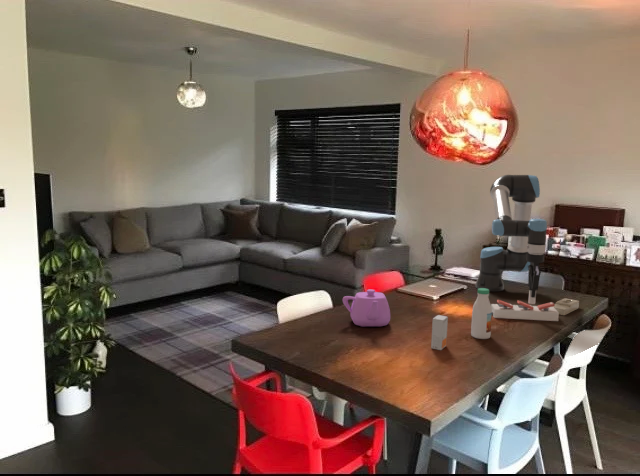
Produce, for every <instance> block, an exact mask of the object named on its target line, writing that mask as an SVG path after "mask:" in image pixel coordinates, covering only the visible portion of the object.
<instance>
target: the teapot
mask: <svg viewBox="0 0 640 476" xmlns="http://www.w3.org/2000/svg"><path fill="white" fill-rule="evenodd" d="M349 300H352V302H351V306H350V304H349ZM342 303H343V305H344V307H346V309H347V310H348V312H350V314H349V315H350V318H351V320H352V322H353V323H354V325H356V326H360V327H379V328H380V327H383V326H387V325H388V324H389V322H390V321H391V310H390V306H389V302H388V300H387V297H386V296H385V294H384V293H383V292H378V291H376V289H366V291H360V292H356V294H355V295H354V296H351V295H346V296H345V295H344V296H343V298H342Z"/></svg>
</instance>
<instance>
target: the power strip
mask: <svg viewBox="0 0 640 476" xmlns="http://www.w3.org/2000/svg"><path fill="white" fill-rule="evenodd" d="M490 304H491V307H492V317H493V318H495V319H509V320H510V319H514V320H531V321H533V320H534V321H546V322H547V321H548V322H549V321H551V322H559V315H560V314H559V312H558V311H557V310H556V309H555V308H554V307H549V308H545V309H541V310H539V309H538V307H537V306H538V305H532V306H533V310H532V309H530V308H527V307H525V306H522V305H520V304H512V305H513V308H510V307H507V306H504V305H502V304H499V303H490Z"/></svg>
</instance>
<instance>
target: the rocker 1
mask: <svg viewBox="0 0 640 476" xmlns="http://www.w3.org/2000/svg"><path fill="white" fill-rule="evenodd" d="M496 302H497V304H502V305H504V306H507V307H510V308H513V305H514V304H511V303H509V302H506V301H503V300H501V299H497V300H496Z"/></svg>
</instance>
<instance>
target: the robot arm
mask: <svg viewBox="0 0 640 476" xmlns="http://www.w3.org/2000/svg"><path fill="white" fill-rule="evenodd" d="M540 187H541V186H540V180H539V178H538V176H537V175H533V174H505V175H501V176H500V177H498V178H497V179H495V180H494V182H492V184H491V186H490V188H489V194H490V197H491V199H492V202H493V210H494V218H495V219H493V220H492V222H491V234H492V235H494V236H499V237H510V244H509V245H508V246H507V249H504V248H503V247H502V246H490V247H484V248H482V249H481V251H480V256H479V258H480V262H479V263H480V264H479V275H478V277H477V279H476V283H475V288H476V289H477V290H478V289H479V288H486V289H489V292H502V291H504V290H505V285H504V281H503V277H502V272H516V273H517V272H518V273H525V272H528V279H527V280H528V281H527V282H528V283H527V284H528V285H527V287H528V302H527V304H529V305H536V297H537V291H538V290H539V284H540V278H541V274H542V271H541V266H540V264H542V263H544V262H545V253H546V238H547V229H548V221H547V220H546V219H543V218H531V215H532V207H533V204H534V203H535V202H536V199H538V198H540V193H541V189H540ZM510 198H511V199H512V202H514V206H513V207H514V209H513V217H512V212H511V203H510Z"/></svg>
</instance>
